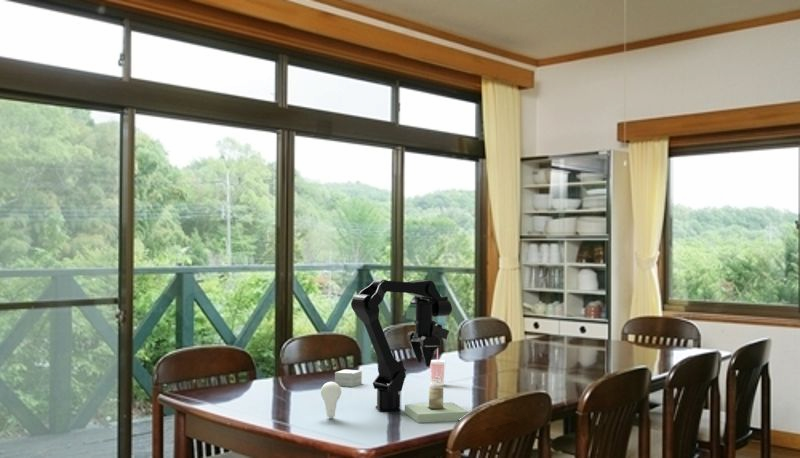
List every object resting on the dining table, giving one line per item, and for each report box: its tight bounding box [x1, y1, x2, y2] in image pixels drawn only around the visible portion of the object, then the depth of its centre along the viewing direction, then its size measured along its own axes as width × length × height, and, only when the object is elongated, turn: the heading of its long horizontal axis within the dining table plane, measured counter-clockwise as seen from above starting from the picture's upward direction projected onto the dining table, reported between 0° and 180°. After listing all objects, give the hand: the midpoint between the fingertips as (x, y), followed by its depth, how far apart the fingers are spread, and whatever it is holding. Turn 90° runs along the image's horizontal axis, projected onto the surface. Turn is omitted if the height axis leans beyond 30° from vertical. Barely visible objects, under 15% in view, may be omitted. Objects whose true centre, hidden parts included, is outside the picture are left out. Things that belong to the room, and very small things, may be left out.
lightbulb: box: [320, 381, 342, 419], centre depth 226 cm, size 6×6×11 cm
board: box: [404, 401, 470, 424], centre depth 230 cm, size 16×14×2 cm
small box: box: [334, 369, 363, 388], centre depth 283 cm, size 8×8×5 cm
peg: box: [428, 385, 444, 410], centre depth 230 cm, size 5×5×9 cm
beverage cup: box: [429, 348, 446, 387], centre depth 284 cm, size 6×6×14 cm
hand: (423, 364), depth 249 cm, fingers open, 9 cm apart
